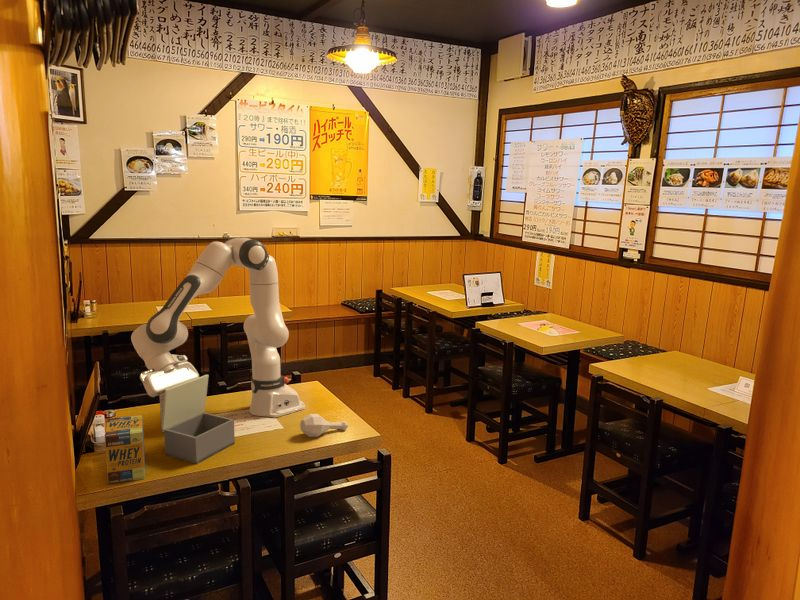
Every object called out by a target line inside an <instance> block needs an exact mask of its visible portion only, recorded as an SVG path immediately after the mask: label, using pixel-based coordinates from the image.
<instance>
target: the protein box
mask: <svg viewBox="0 0 800 600" xmlns="http://www.w3.org/2000/svg"><path fill="white" fill-rule="evenodd" d="M143 420H144V418H143V415H141V414H140V415H131V416H122V417H121V416H120V417H114V418H107V420H106V426H105V434H104V441H105V442H104V443H105V445H104V446H105V459H106V472H107V485H111V484H113V485H114V484H118V483H124V482H125V483H126V482H130V481H131V482H133V481H139V480H145V479H146V459H145V458H146V457H145V439H144V438H145V437H144V421H143Z"/></svg>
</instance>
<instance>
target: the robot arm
mask: <svg viewBox="0 0 800 600" xmlns="http://www.w3.org/2000/svg"><path fill="white" fill-rule="evenodd" d="M232 266H237V267H239V268H246V269H247V271H248V275H249V298H250V299H249V301H250V305H251V307H252V309H253V312H254V314H250V315H249V316H247V317H246V318H245V320H244V322H243V331H244V333H245V334H246V337H247V342H248V347H249V352H250V355H251V356H250V357H251V370H252V372H251V373H252V376H251V383H250V384H251V385H250V386H251V392H252V393H251V401H250V406H249V410H248V412H249V413H250V414H251V415H253V416H258V417H269V418H279V417H282V416H285V415H288V414H292V413H295V412H299V411H302V410H305V409H306V404H305V403H304V402H303V401H302V400H301V399H300V396H299V393H298V391H296V390H295V389H294V388H293V387H291V386H289V385H288V384H289V382H290V379H289V378H288V377H287V376H284V375H282V374H281V357H280V354H279V352H278V349H277V348H280V347H283V346H284V345H285V344H286V343H287V342H288V340H289V337H290V334H289V333H290V332H289V329H288V327H287V325H286V324H285V320H284V316H283V312H282V308H281V303H280V293H279V291H280V290H279V287H280V286H279V272H278V267H277V263H276V259H275V258H274V257H273V256H272V255H270V254H268V250H267V249H266V246H265V245H264V243H262V242H260V241H259V240H257V239H252V238H248V237H231V238H228V239H226V240H225V241H224V242H221V241H212V242H210V243H209V244H208V245H207V246H206V247H205V249H204V250H202V252H201V254H200V255H199V256H198V257H197V259H196V261H195V262H194V264H193V265H192V267H191V269H190V270H189V272H188V273H187V275H186V276H185V277H184V278H183V280H182V281H181V282H180V283H179V284H178V285H177V287H176V288H175V290H174V291H173V293H172V294H171V295H170V296H169V298H168V299H167V301H166V302H165V303H164V305H163V306H162V307H161V309H159V311H157V312H156V313H154V314H153V315H152V316H151V317H150V318H149V319H148V320H147V323H143V324H141V325H138V327H136V328H135V329H134V330H133V331H132V333H131V336H130V340H131V343H132V345H133V347H134V350H135V351H136V353H137V354H138V356H139V357H140V358H141V359H142V360H143V361H144V364H145V367H146V368H147V370H146V371H145V370H144V371H143V372H141V373H140V375H139V379H140V381H141V382H142V384H143V387H144V389H145V391H146V393H147V395H148V396H149V397H150V398H155V397H157V396H159V395H161V394H163V393H165V390H166V389H169V388H171V387H174V386H177V385H180V384H182V383H185V382H188V381H191V380H193V379H196V378H199V377H200V374H199V372H198V370H197V369H196V368H195V367H194V365H193V364H192V363H191V362H189V361H188V356H186V355H185V354H183V355H182V354H181V355H179V354H171V352H170V351H172V350H174V349H177V348H178V347H181V346H182V345H184V344H185V343H186V342H187V340H188V338H189V330H188V327H187V325H185V324H184V323H183V322H181V321H180V317H181V316H182V315H183V313H184V311H185V310H186V309H187V308H188V307H189V304H190V303H191V302H192V300H193V299H194V298H196V297H198V296H200V295H205V294H210V293H213V292H214V291H215V289H217V288H218V286H220V283H221V282H222V280H223V279H224V276H225V275H226V273H227V271H228V270H229V269H230V268H231V267H232Z"/></svg>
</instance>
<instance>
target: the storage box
mask: <svg viewBox="0 0 800 600" xmlns="http://www.w3.org/2000/svg"><path fill="white" fill-rule="evenodd" d="M163 434H164V449H165V450H164V452H165V456H167V455H168V457H171V458H173V459H178V460H182V461H185V462H188V463H192V464H195V465H198V464H200V463H201V462H203V461H205V460H207V459H209V458H210V457H213V456H214V455H216V454H218V453H220V452H222V451H224V450H226V449H228V448H230V447H232V446H233V445H235V443H236V442H235V441H236V440H235V438H236V437H235V419H234V418H233V419H232V418H229V417H225V416H221V415H216V414H213V413H208V412H203V413H201V414H198V415H196V416H194V417H191V418H189V419H188V420H185V421H183V422H181V423H179V424H176V425H174V426H172V427H169V428H167V429H165V430H164V433H163Z"/></svg>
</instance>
